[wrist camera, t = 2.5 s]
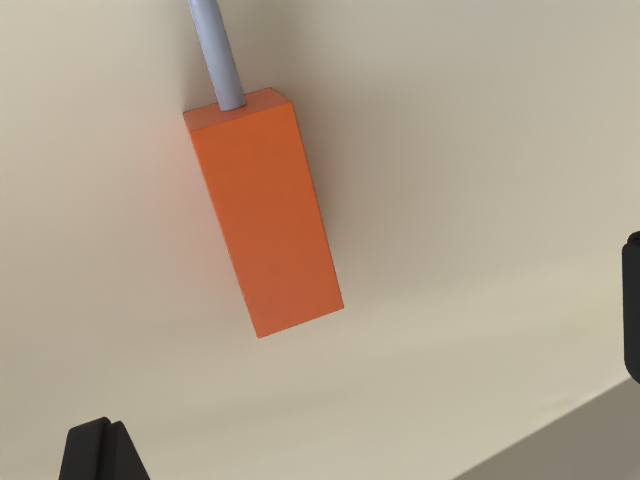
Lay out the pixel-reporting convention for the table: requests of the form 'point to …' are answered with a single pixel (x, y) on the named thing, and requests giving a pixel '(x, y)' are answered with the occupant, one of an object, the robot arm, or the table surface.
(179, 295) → the table surface
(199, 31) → the screwdriver
